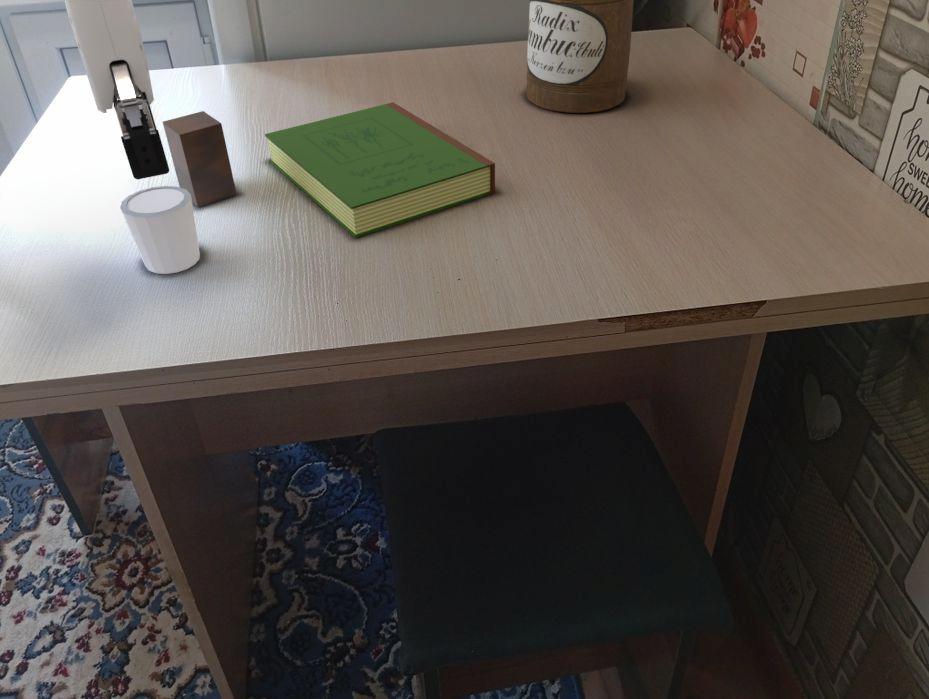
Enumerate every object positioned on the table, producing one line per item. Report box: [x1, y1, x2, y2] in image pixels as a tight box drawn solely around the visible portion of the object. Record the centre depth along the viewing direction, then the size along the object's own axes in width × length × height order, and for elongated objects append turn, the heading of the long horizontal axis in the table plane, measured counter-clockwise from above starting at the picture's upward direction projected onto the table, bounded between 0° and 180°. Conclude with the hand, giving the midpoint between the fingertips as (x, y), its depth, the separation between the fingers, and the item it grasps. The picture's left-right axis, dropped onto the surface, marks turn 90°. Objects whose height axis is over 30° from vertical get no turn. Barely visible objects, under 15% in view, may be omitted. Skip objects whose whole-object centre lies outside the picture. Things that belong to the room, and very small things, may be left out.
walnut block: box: [162, 110, 238, 208], centre depth 92 cm, size 5×5×9 cm
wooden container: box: [526, 0, 635, 114], centre depth 112 cm, size 15×15×22 cm
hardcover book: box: [264, 101, 496, 239], centre depth 97 cm, size 25×19×4 cm
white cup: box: [119, 185, 201, 275], centre depth 81 cm, size 7×7×7 cm
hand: (146, 155), depth 76 cm, fingers open, 9 cm apart
